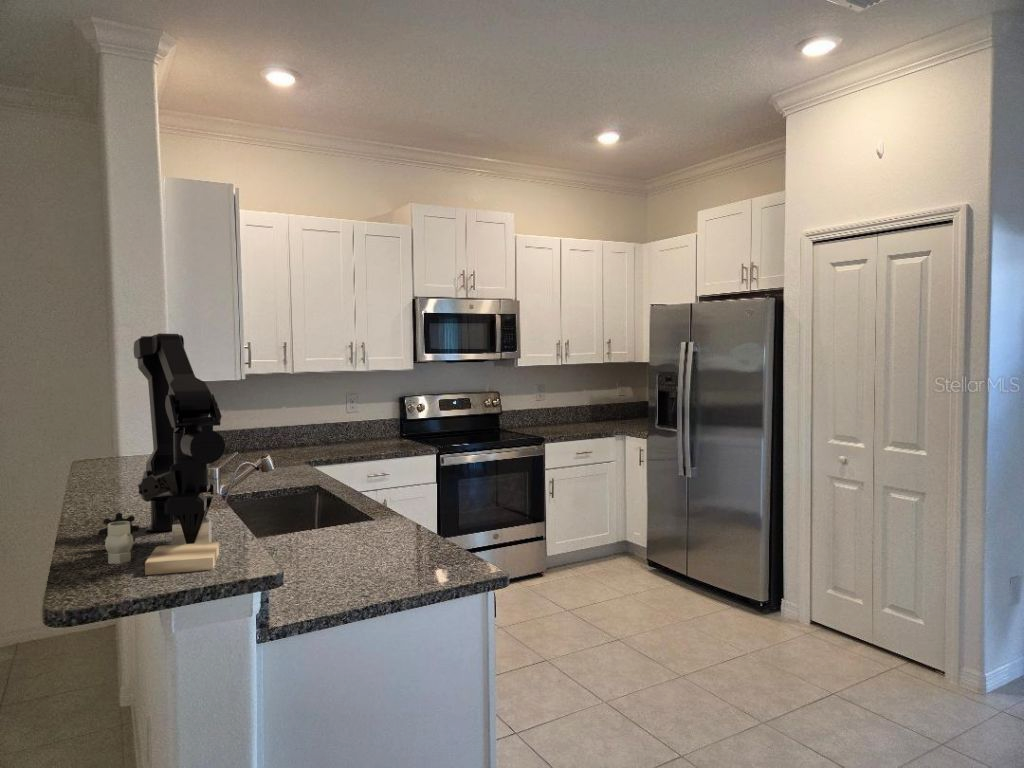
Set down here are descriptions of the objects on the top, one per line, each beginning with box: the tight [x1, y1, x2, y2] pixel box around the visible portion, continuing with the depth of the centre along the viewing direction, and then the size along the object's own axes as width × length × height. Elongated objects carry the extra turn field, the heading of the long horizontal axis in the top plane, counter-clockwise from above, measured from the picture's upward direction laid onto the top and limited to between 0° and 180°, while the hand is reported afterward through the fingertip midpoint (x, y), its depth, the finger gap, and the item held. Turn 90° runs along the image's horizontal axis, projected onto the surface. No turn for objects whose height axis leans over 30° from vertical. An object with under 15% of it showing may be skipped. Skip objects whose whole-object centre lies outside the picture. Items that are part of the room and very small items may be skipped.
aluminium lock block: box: [171, 517, 213, 545], centre depth 126 cm, size 4×6×5 cm, turn 107°
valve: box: [97, 511, 141, 565], centre depth 121 cm, size 7×7×12 cm
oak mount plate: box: [144, 541, 220, 576], centre depth 117 cm, size 10×10×2 cm
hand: (192, 542), depth 126 cm, fingers open, 5 cm apart
